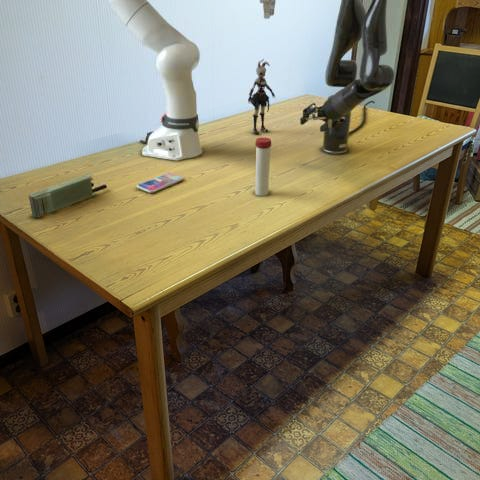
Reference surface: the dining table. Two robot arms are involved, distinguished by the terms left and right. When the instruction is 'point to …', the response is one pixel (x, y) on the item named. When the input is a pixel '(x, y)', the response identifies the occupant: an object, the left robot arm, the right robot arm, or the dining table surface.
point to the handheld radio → (62, 195)
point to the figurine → (260, 96)
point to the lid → (263, 142)
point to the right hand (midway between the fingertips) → (311, 126)
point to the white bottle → (262, 171)
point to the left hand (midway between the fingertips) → (268, 16)
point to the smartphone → (159, 182)
